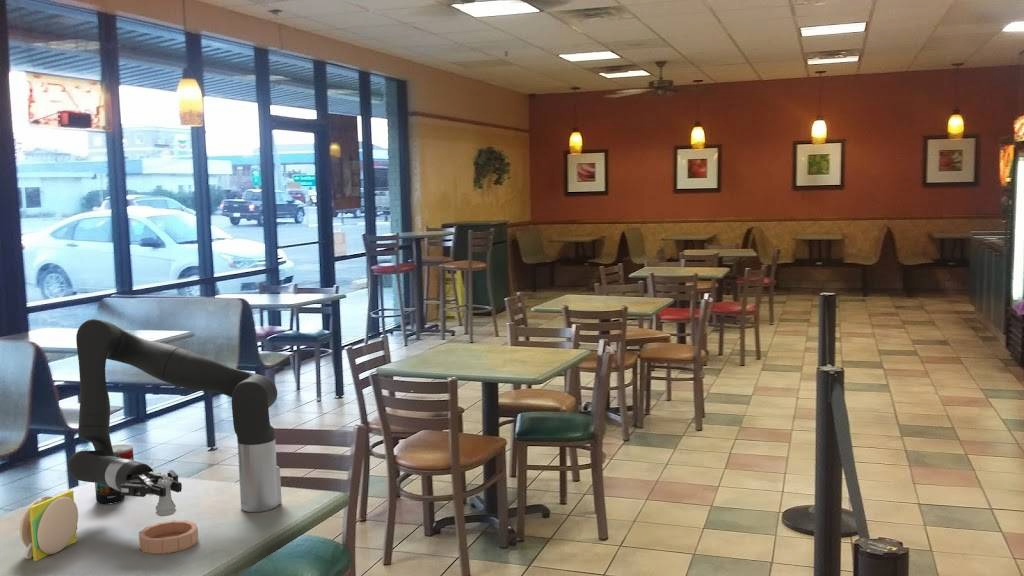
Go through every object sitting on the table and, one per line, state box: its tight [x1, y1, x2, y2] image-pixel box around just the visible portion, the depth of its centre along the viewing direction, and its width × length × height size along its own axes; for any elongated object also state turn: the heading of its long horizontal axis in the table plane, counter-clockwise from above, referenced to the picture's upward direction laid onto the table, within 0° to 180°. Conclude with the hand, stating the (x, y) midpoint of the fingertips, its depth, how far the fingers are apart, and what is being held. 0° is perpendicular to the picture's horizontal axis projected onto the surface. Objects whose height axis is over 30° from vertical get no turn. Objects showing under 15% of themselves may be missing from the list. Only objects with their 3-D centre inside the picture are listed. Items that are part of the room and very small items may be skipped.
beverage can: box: [94, 453, 126, 505], centre depth 241 cm, size 7×7×12 cm
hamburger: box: [19, 489, 79, 562], centre depth 207 cm, size 12×8×12 cm
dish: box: [138, 520, 199, 555], centre depth 210 cm, size 12×12×3 cm
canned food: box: [112, 443, 135, 461], centre depth 253 cm, size 8×8×11 cm
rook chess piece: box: [155, 477, 177, 517], centre depth 209 cm, size 4×4×8 cm
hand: (172, 489), depth 207 cm, fingers closed on rook chess piece, 3 cm apart
